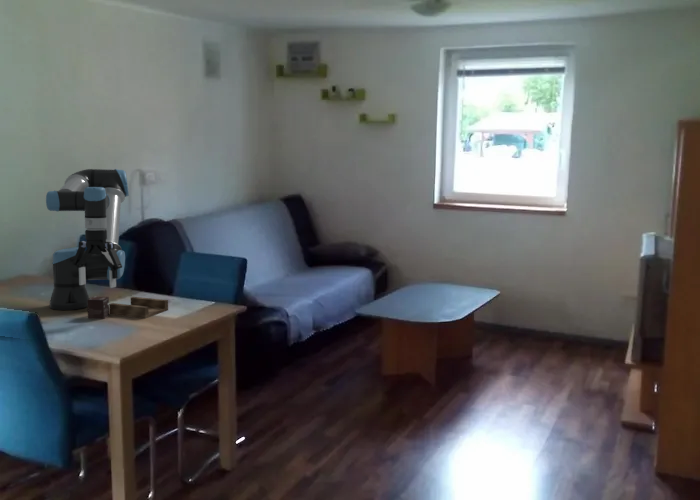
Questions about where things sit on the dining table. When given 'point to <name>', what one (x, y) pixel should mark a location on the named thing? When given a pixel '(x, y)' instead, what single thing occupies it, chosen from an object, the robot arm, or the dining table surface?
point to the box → (98, 307)
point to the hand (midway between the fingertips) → (97, 286)
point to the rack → (139, 307)
